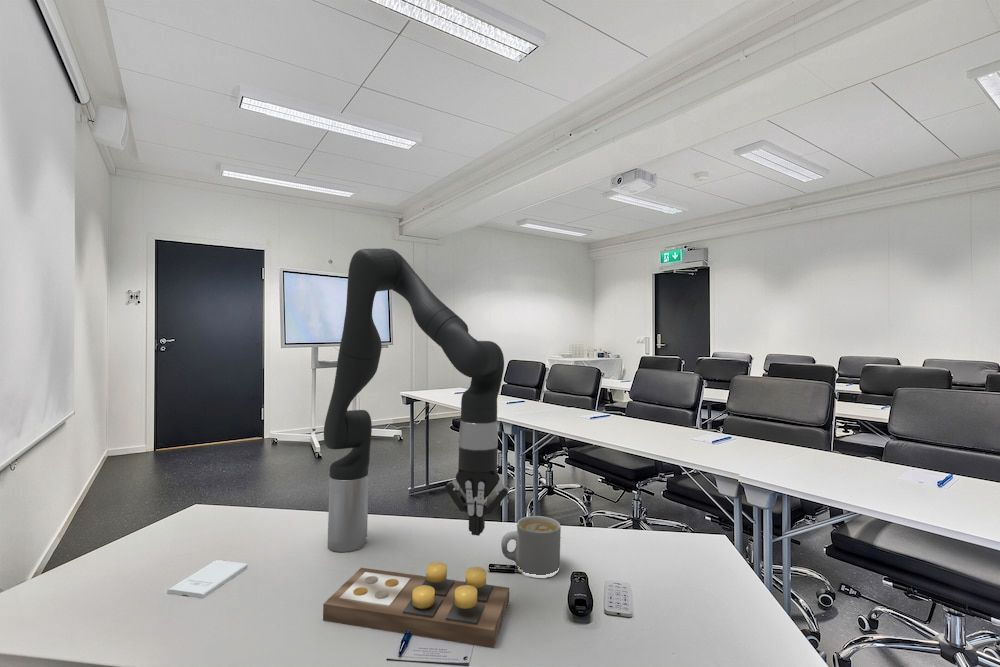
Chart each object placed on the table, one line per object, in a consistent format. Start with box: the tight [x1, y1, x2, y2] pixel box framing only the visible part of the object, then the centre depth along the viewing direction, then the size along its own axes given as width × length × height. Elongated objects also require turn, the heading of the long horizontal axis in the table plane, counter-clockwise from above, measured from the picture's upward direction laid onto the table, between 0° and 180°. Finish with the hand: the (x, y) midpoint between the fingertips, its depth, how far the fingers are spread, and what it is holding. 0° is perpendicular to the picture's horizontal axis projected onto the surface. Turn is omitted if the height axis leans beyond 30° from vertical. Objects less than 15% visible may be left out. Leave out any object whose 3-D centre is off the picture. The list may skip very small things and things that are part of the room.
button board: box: [322, 567, 510, 649], centre depth 90 cm, size 14×32×4 cm, turn 78°
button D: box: [455, 585, 477, 609], centre depth 85 cm, size 4×4×2 cm
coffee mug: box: [500, 515, 562, 575], centre depth 108 cm, size 13×10×10 cm
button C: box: [464, 566, 487, 588], centre depth 91 cm, size 4×4×2 cm
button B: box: [412, 585, 435, 608], centre depth 86 cm, size 4×4×2 cm
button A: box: [425, 561, 448, 582], centre depth 93 cm, size 4×4×2 cm
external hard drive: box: [166, 559, 249, 599], centre depth 99 cm, size 2×8×12 cm
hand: (476, 533), depth 91 cm, fingers closed
